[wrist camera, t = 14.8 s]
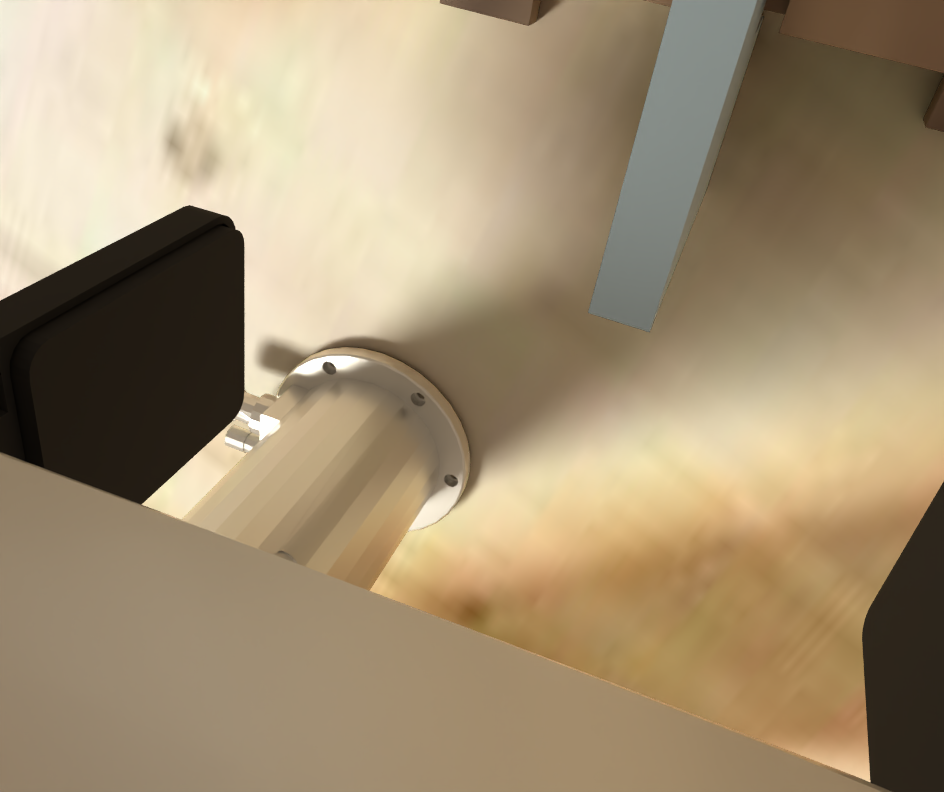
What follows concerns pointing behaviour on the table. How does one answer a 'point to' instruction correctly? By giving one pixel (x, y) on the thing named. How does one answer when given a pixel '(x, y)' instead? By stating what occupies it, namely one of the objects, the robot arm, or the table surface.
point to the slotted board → (822, 29)
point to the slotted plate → (674, 152)
